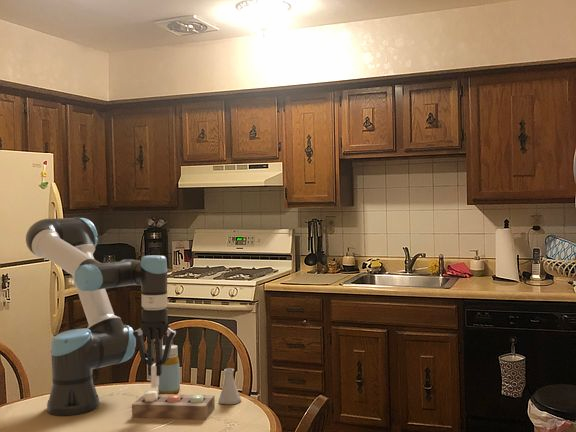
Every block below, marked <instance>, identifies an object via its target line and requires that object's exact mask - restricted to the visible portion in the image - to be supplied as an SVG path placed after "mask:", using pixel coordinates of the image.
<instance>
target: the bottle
mask: <svg viewBox="0 0 576 432" xmlns="http://www.w3.org/2000/svg"><path fill="white" fill-rule="evenodd" d="M165 345H166V344H164V345H163V344H162V358H163V354H164V350H165ZM178 353H179V352H178V345H176V344H172V346H171V350H170V355H169V359H168V361H167V362H166V363H165V364H162V374H161V375H160V376H159V385H158V386H157V388H158V391H157V392H158V394H178V393H179V391H180V390H181V389H180V388H181V379H180V376H181V375H180V374H181V373H180V371H181V370H180V359H179V356H178ZM177 392H178V393H177Z"/></svg>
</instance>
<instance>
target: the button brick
mask: <svg viewBox="0 0 576 432" xmlns="http://www.w3.org/2000/svg"><path fill="white" fill-rule="evenodd" d="M180 395H181V394H176V395H169V396H168V397H167V402H180Z"/></svg>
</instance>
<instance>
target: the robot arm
mask: <svg viewBox="0 0 576 432" xmlns="http://www.w3.org/2000/svg"><path fill="white" fill-rule="evenodd" d="M98 243H99V239H98V231H97V228H96V226H95V224H94V223H93V222H92V221H91V220H90V219H88V218H85V217H75V216H73V217H67V218H66V217H64V218H44V219H39V220H38V221H36V222H34V223H33V224H32V225H31V226H30V227H29V228H28V230H27V232H26V235H25V244H26V247H27V248H28V250H29V251H30V252H31V253H32V254H33V255H35V256H36V257H38V258H41V259H47V260H48V261H50V262H52V264H54V265H55V266H57V267H59V268H60V269H62V270H64V271H65V272H67V273H68V274H69V275H71V277H72V279H73V283H74V285H75V286H74V287H75V288H76V291H77V294H78V297H79V300H80V303H81V306H82V308H83V312H84V314H85V317H86V320H87V323H88V325H87V328H86V327H84V328H83V327H82V328H75V329H73V328H72V329H69V330H65V331H62V332H59V333H58V334H56V335H55V336H54V337H53V338H52V340H51V347H50V348H51V349H50V354H51V376H52V378H51V379H52V386H51V390H50V393H49V398H48V400H47V403H46V410H47V411H46V412H47V413H48V414H50V415H54V416H74V415H80V414H84V413H87V412H91V411H94V410H95V409H97V408H98V407H99V406H100V397H99V395H98V393H97V389H96V387H95V383H94V382H93V370H95V369H99V368H104V367H108V366H112V365H113V366H114V365H120V364H121V363H124V362H127V361H129V360H130V359H132V357H133V355H134V354H135V351H136V350H135V349H136V345H137V348H138V351H139V352H138V353H139V357H140V361H141V363H143V364H146V365H147V374H148V377H149V376H150V383H151V384H150V386H151V387H150V388H155V389H156V388H158V385H159V376H160V375H161V374H162V364H165V363H166V362H167V361H168V359H169V355H170V350H171V346H172V345H173V341H174V338H175V336H176V335H177V331H176V330H173V329H172V328H170V325H169V323H168V308H167V306H168V270H169V269H168V262H167V257H166V256H165V255H162V254H161V255H160V254H159V255H156V254H155V255H154V254H153V255H144V256H142V257H141V260H139V259H133V258H130V259H129V258H127V259H122V260H120V261H112V262H111V261H110V262H100V261H98V260H97V259H95V257H94V253H95V251H96V247H97V245H98ZM127 286H128V287H129V286H138V287H139V286H140V287H141V307H142V309H141V324H140V327H139V328H138V329H136V330H134V329H133V327H131V326H130V325H127V324H124V322H123V321H122V318H121V317H120V316H117V315H115V312H114V310H113V307H112V304H111V302H110V299H109V296H108V293H107V289H110V288H111V289H112V288H120V287H127ZM165 334H166V336H167V338H166V342H165V344H164V345H165V350H164V354H163V358H162V346H163V340H164V336H165ZM143 335H144V336H145V337H146V343H145V339H144V336H143ZM146 344H147V345H146ZM146 346H147V348H146Z"/></svg>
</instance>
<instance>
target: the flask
mask: <svg viewBox="0 0 576 432" xmlns="http://www.w3.org/2000/svg"><path fill="white" fill-rule="evenodd" d="M234 371H235V369H234V368H225V369H224V370H223V373H224V379H223V381H224V382H223V384H222V389H221V391H220V393H219V394H220V396H219V398H218V404H222V405H237V404H238V403H240V402H242V401H241V400H242V399H241V395H240V393H239V391H238V388H237V385H236V383H235V378H234Z"/></svg>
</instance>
